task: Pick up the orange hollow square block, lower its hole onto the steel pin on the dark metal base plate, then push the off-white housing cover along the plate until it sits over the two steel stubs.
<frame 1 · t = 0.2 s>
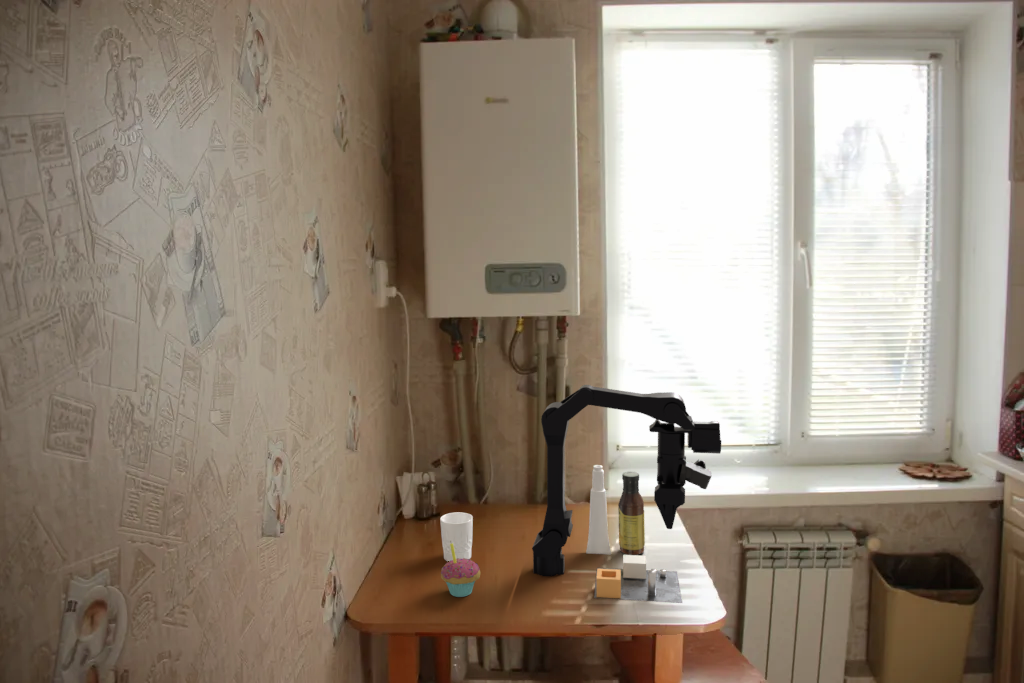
hand: (670, 521, 156), 14 cm above the table, fingers open, 9 cm apart
white cup: (457, 558, 174), on the table
cupcake: (461, 592, 156), on the table
base plate: (637, 589, 155), on the table
cosmetic bottle: (598, 554, 175), on the table
sauce bottle: (631, 552, 176), on the table
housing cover: (634, 566, 159), point 3 cm above the table, slide at 0.0 cm
orange hollow square block: (608, 592, 152), point 1 cm above the table, touching base plate
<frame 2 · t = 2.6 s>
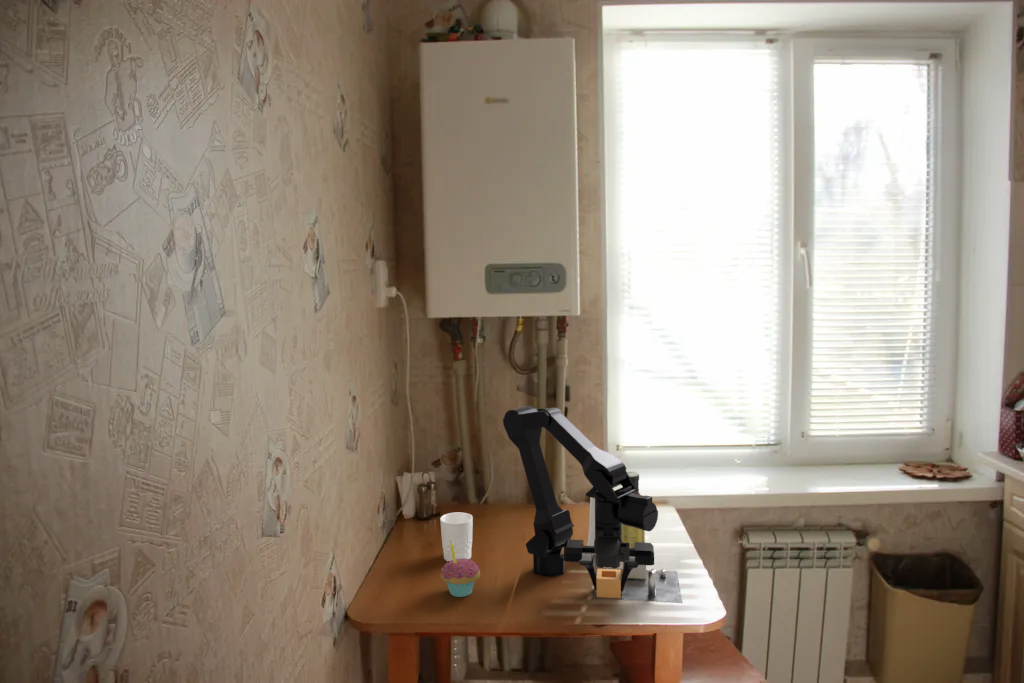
hand: (608, 590, 152), 2 cm above the table, fingers closed on orange hollow square block, 5 cm apart
orange hollow square block: (608, 592, 152), point 1 cm above the table, touching base plate, gripper
everything else where it was.
when the fingers open (3 cm above the table, at t = 6.6 s): orange hollow square block drops 2 cm, resting on base plate.
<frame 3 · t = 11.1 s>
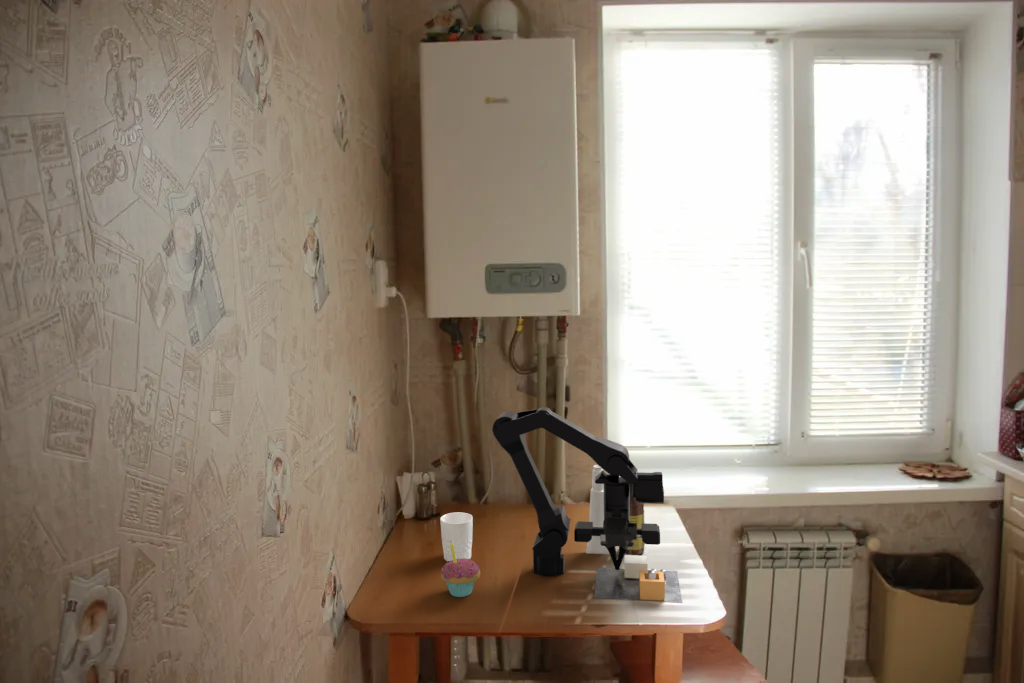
hand: (617, 569, 160), 2 cm above the table, fingers closed
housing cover: (635, 566, 159), point 3 cm above the table, slide at 0.3 cm, touching gripper
orange hollow square block: (651, 594, 150), point 1 cm above the table, touching base plate
everything else where it was.
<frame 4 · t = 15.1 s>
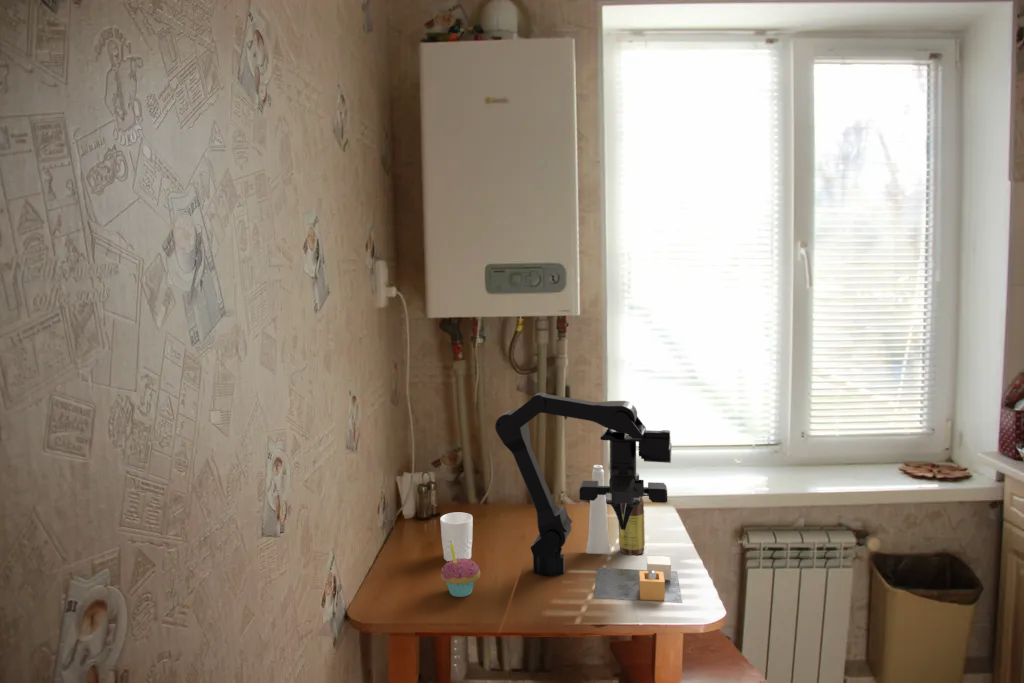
hand: (623, 529, 157), 12 cm above the table, fingers closed
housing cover: (658, 567, 159), point 3 cm above the table, slide at 5.3 cm, touching base plate
everything else where it was.
at the end: orange hollow square block 0.1 cm from the target spot on the base plate, point 1.2 cm above the base plate's base; orange hollow square block tilted 0°; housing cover slide at 5.3 cm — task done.
